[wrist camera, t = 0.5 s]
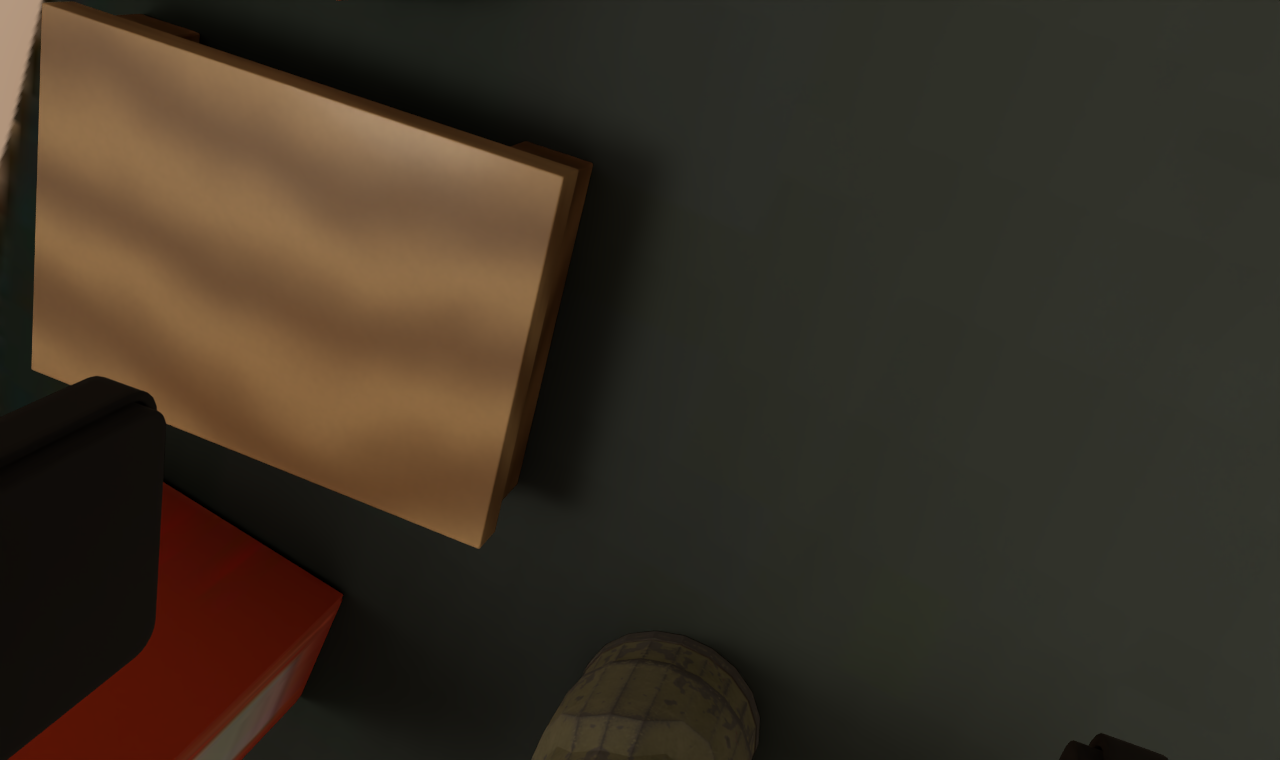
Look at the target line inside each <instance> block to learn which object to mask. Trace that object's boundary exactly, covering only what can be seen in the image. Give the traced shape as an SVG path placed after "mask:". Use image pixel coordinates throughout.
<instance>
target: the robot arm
mask: <svg viewBox="0 0 1280 760" xmlns="http://www.w3.org/2000/svg"><path fill="white" fill-rule="evenodd" d="M165 438H166V421H165V418H164V416H163V414H162V413H160V412H159V411H157V405H156V403H155V400H154V398H153V397H152V396H151V395H150V394H149V393H148V392H145V391H142V390H139V389H137V388H134V387H131V386H128V385H125V384H123V383H120V382H117V381H114V380H111V379H109V378H106V377H102V376H93V377H89V378H86V379H84V380H82V381H80V382H77V383H75V384H73V385H71V386H68V387H66V388H64V389H62V390H60V391H57V392H55V393H53V394H51V395H49V396H46V397H44V398H42V399H40V400H37V401H35V402H33V403H31V404H29V405H26V406H24V407H22V408H20V409H17V410H15V411H13V412H11V413H9V414H6V415H4V416H2V417H0V760H8V759H9V758H10V757H11V756H13V755H14V754H15V753H16V752H18V751H19V750H20V749H21V748H23V747H24V746H25V745H26V744H28V743H29V742H30V741H32V740H33V739H34V738H35V737H37V736H38V735H39V734H40V733H42V732H43V731H44V730H45V729H47V728H48V727H49V726H50V725H52V724H53V723H54V722H55V721H57V720H58V719H59V718H60V717H62V716H63V715H64V714H65V713H67V712H68V711H69V710H70V709H72V708H73V707H74V706H75V705H77V704H78V703H79V702H80V701H82V700H83V699H84V698H85V697H87V696H88V695H89V694H90V693H92V692H93V691H94V690H95V689H97V688H98V687H99V686H100V685H102V684H103V683H104V682H105V681H107V680H108V679H109V678H110V677H112V676H113V675H114V674H115V673H117V672H118V671H119V670H120V669H122V668H123V667H124V666H125V665H127V664H128V663H129V662H130V661H132V660H133V659H134V658H135V657H136V656H137V655H138V654H139V653H140V652H141V651H142V650H143V649H144V647H145V646H146V645H147V643H148V641H149V639H150V637H151V635H152V633H153V630H154V627H155V621H156V604H157V586H158V567H159V549H160V530H161V512H162V493H163V475H164V456H165ZM1059 760H1168V758H1166V757H1165V756H1164V755H1162V754H1159V753H1156V752H1153V751H1150V750H1148V749H1145V748H1142V747H1139V746H1136V745H1134V744H1131V743H1128V742H1125V741H1122V740H1120V739H1117V738H1114V737H1111V736H1108V735H1106V734H1103V733H1101V734H1098V735H1096V736H1095V737H1094V739H1093V740H1092V741H1091V743H1090V744H1089V746H1088V745H1085V744H1082V743H1079V742H1077V741H1074V740H1073V741H1070V742H1069V743H1068V745H1067V746H1066V747H1065V749H1064V751H1063V753H1062V755H1061V757H1060V759H1059Z"/></svg>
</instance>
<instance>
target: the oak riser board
mask: <svg viewBox="0 0 1280 760" xmlns="http://www.w3.org/2000/svg"><path fill="white" fill-rule="evenodd" d="M199 41H200V34H199V33H197V32H194V31H191V30H188V29H185V28H182V27H179V26H176V25H173V24H170V23H167V22H164V21H161V20H158V19H155V18H152V17H149V16H146V15H143V14H131V15H116V16H115V15H112V14H109V13H106V12H103V11H100V10H97V9H94V8H91V7H88V6H85V5H82V4H79V3H76V2H73V1H69V2H48V3H43V4H42V30H41V65H40V99H39V133H38V167H37V201H36V235H35V270H34V304H33V338H32V370H34V371H37V372H39V373H42V374H44V375H47V376H49V377H52V378H54V379H57V380H59V381H62V382H64V383H67V384H69V385H73V384H75V383H77V382H80V381H82V380H84V379H86V378H89V377H93V376H102V377H106V378H109V379H111V380H114V381H117V382H120V383H123V384H125V385H128V386H131V387H134V388H137V389H139V390H142V391H145V392H148V393H149V394H150V395H151V396H152V397H153V398H154V400H155V403H156V405H157V411H159V412H160V413H162V414H163V416H164V418H165V421H166V424H169V425H171V426H174V427H176V428H179V429H181V430H184V431H186V432H189V433H191V434H194V435H196V436H199V437H201V438H204V439H206V440H209V441H211V442H214V443H216V444H219V445H221V446H224V447H226V448H229V449H231V450H234V451H236V452H239V453H241V454H244V455H246V456H249V457H251V458H254V459H256V460H258V461H261V462H263V463H266V464H268V465H271V466H273V467H276V468H278V469H281V470H283V471H286V472H288V473H291V474H293V475H296V476H298V477H301V478H303V479H306V480H308V481H311V482H313V483H316V484H318V485H321V486H323V487H326V488H328V489H331V490H333V491H336V492H338V493H341V494H343V495H346V496H348V497H351V498H353V499H356V500H358V501H361V502H363V503H366V504H368V505H371V506H373V507H375V508H378V509H380V510H383V511H385V512H388V513H390V514H393V515H395V516H398V517H400V518H403V519H405V520H408V521H410V522H413V523H415V524H418V525H420V526H423V527H425V528H428V529H430V530H433V531H435V532H438V533H440V534H443V535H445V536H448V537H450V538H453V539H455V540H458V541H460V542H463V543H465V544H468V545H470V546H473V547H475V548H478V549H480V548H481V547H482V545H483V544H484V543H485V542H486V541H487V540H488V539H489V537H490V536H491V535H492V534H493V533H494V532H495V528H496V524H497V520H498V515H499V511H500V507H501V502H502V500H503V499H504V498H505V497H506V496H507V494H508V493H509V492H510V491H511V490H512V489H513V488H514V487H515V486H516V485H517V483H518V479H519V475H520V471H521V467H522V462H523V458H524V454H525V450H526V446H527V441H528V437H529V433H530V429H531V424H532V420H533V416H534V412H535V408H536V403H537V399H538V395H539V391H540V387H541V382H542V378H543V374H544V370H545V366H546V361H547V357H548V353H549V349H550V344H551V340H552V336H553V332H554V328H555V323H556V319H557V315H558V311H559V307H560V302H561V298H562V294H563V290H564V285H565V281H566V277H567V273H568V269H569V264H570V260H571V256H572V252H573V248H574V243H575V239H576V235H577V231H578V227H579V222H580V218H581V214H582V210H583V205H584V201H585V197H586V193H587V189H588V184H589V180H590V176H591V172H592V168H593V163H591V162H588V161H585V160H582V159H579V158H576V157H573V156H570V155H567V154H564V153H561V152H558V151H555V150H552V149H549V148H545V147H542V146H539V145H536V144H533V143H530V142H527V141H524V142H521V143H518V144H516V145H513V146H511V147H509V146H506V145H503V144H500V143H497V142H494V141H491V140H488V139H485V138H482V137H479V136H476V135H473V134H470V133H467V132H464V131H461V130H458V129H455V128H452V127H449V126H446V125H443V124H440V123H437V122H434V121H431V120H428V119H425V118H422V117H419V116H416V115H413V114H410V113H407V112H404V111H401V110H398V109H395V108H392V107H389V106H386V105H383V104H380V103H377V102H374V101H371V100H368V99H365V98H362V97H359V96H356V95H353V94H350V93H347V92H344V91H341V90H338V89H335V88H332V87H329V86H326V85H323V84H320V83H317V82H314V81H311V80H308V79H305V78H302V77H299V76H296V75H293V74H290V73H286V72H283V71H280V70H277V69H274V68H271V67H268V66H265V65H262V64H259V63H256V62H253V61H250V60H247V59H244V58H241V57H238V56H235V55H232V54H229V53H226V52H223V51H220V50H217V49H214V48H211V47H208V46H205V45H202V44H199Z"/></svg>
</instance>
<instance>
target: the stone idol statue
mask: <svg viewBox="0 0 1280 760" xmlns="http://www.w3.org/2000/svg"><path fill="white" fill-rule="evenodd" d="M759 725H760V716H759V713H758V710H757V707H756V703H755V700H754V697H753V693H752V691H751V690H750V688H749V687H748V685H747V684H746V683H745V681H744V680H743V678H742V677H741V675H740V674H739V672H738V671H737V669H736V668H735V667H734V666H732V665H731V664H730V663H729V662H728V661H726V660H725V659H724V658H723V657H722V656H720V655H719V654H718V653H717V652H716V651H714V650H713V649H712V648H709V647H707V646H705V645H703V644H701V643H699V642H697V641H695V640H692V639H690V638H688V637H686V636H682V635H677V634H671V633H665V632H660V631H650V632H641V633H632V634H627V635H625V636H623V637H621V638H619V639H617V640H615V641H612V642H610V643H608V644H606V645H605V646H604V647H603V648H602V649H601V650H600V651H599V652H598V653H597V654H596V655H595V656H594V658H593V659H592V660H591V661H590V662H589V663H588V665H587V667H586V669H585V671H584V673H583V676H582V678H581V679H580V680H579V681H578V682H577V683H576V684H575V685H574V686H573V687H572V688H571V689H570V690H569V691H568V692H567V694H566V695H565V697H564V699H563V701H562V702H561V704H560V706H559V707H558V709H557V711H556V712H555V714H554V716H553V717H552V719H551V721H550V722H549V724H548V726H547V727H546V729H545V731H544V733H543V735H542V737H541V739H540V741H539V744H538V746H537V748H536V750H535V752H534V754H533V757H532V759H531V760H752V758H753V756H754V754H755V752H756V749H757V746H758V742H759Z"/></svg>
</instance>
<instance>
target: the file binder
mask: <svg viewBox="0 0 1280 760" xmlns="http://www.w3.org/2000/svg"><path fill="white" fill-rule="evenodd" d="M342 596H343V594H342V593H340V592H338V591H337V590H335V589H334V588H332V587H330V586H329V585H327V584H326V583H324V582H322V581H321V580H319V579H318V578H316V577H314V576H313V575H311V574H310V573H308V572H306V571H305V570H303V569H302V568H300V567H298V566H297V565H295V564H294V563H292V562H290V561H289V560H287V559H286V558H284V557H282V556H281V555H279V554H278V553H276V552H274V551H273V550H271V549H270V548H268V547H266V546H265V545H263V544H262V543H260V542H258V541H257V540H255V539H254V538H252V537H250V536H249V535H247V534H246V533H244V532H242V531H241V530H239V529H238V528H236V527H234V526H233V525H231V524H230V523H228V522H226V521H225V520H223V519H222V518H220V517H218V516H217V515H215V514H214V513H212V512H210V511H209V510H207V509H206V508H204V507H202V506H201V505H199V504H198V503H196V502H194V501H193V500H191V499H190V498H188V497H186V496H185V495H183V494H182V493H180V492H178V491H177V490H175V489H174V488H172V487H170V486H169V485H167V484H166V483H164V482H163V493H162V512H161V530H160V549H159V567H158V586H157V604H156V621H155V627H154V630H153V633H152V635H151V637H150V639H149V641H148V643H147V645H146V646H145V647H144V649H143V650H142V651H141V652H140V653H139V654H138V655H137V656H136V657H135V658H134V659H133V660H132V661H130V662H129V663H128V664H127V665H125V666H124V667H123V668H122V669H120V670H119V671H118V672H117V673H115V674H114V675H113V676H112V677H110V678H109V679H108V680H107V681H105V682H104V683H103V684H102V685H100V686H99V687H98V688H97V689H95V690H94V691H93V692H92V693H90V694H89V695H88V696H87V697H85V698H84V699H83V700H82V701H80V702H79V703H78V704H77V705H75V706H74V707H73V708H72V709H70V710H69V711H68V712H67V713H65V714H64V715H63V716H62V717H60V718H59V719H58V720H57V721H55V722H54V723H53V724H52V725H50V726H49V727H48V728H47V729H45V730H44V731H43V732H42V733H40V734H39V735H38V736H37V737H35V738H34V739H33V740H32V741H30V742H29V743H28V744H26V745H25V746H24V747H23V748H21V749H20V750H19V751H18V752H16V753H15V754H14V755H13V756H11V757H10V758H9V759H8V760H242V759H243V757H244V756H245V755H246V754H247V753H248V752H249V751H250V750H251V749H252V748H253V747H254V746H255V745H256V744H257V743H258V742H259V741H260V739H261V738H262V737H263V736H264V735H265V734H266V733H267V732H268V731H269V730H270V729H271V728H272V727H273V726H274V725H275V724H276V723H277V721H278V720H279V719H280V718H281V717H282V716H283V715H284V714H285V713H286V712H287V711H288V710H289V709H290V708H291V707H292V706H293V705H294V703H295V702H296V701H297V700H298V698H299V697H300V696H301V694H302V692H303V690H304V687H305V685H306V683H307V680H308V678H309V676H310V673H311V671H312V669H313V666H314V664H315V662H316V659H317V657H318V655H319V652H320V650H321V648H322V646H323V643H324V641H325V639H326V636H327V634H328V632H329V629H330V627H331V625H332V622H333V620H334V618H335V615H336V613H337V611H338V609H339V606H340V604H341V602H342Z"/></svg>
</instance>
